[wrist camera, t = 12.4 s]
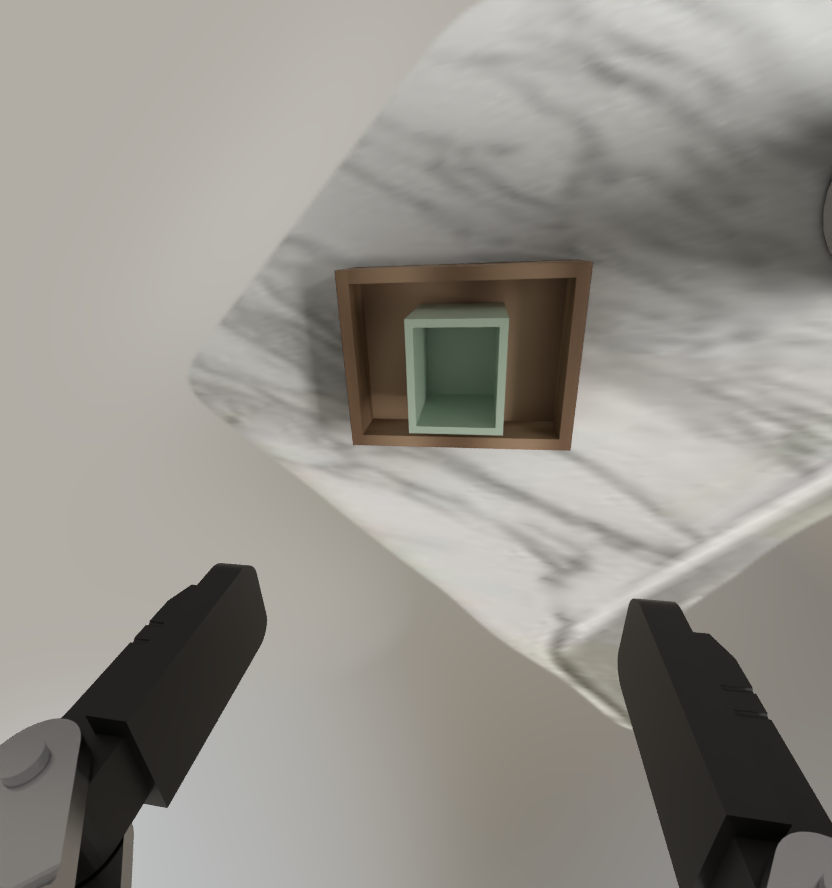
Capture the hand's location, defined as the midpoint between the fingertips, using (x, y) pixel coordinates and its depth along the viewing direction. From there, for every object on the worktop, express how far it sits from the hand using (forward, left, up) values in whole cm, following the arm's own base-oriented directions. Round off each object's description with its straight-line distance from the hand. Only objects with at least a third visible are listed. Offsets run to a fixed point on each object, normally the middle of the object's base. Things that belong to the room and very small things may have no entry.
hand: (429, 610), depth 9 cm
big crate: (0, -1, -21) cm, 21 cm away
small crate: (0, -1, -20) cm, 20 cm away
